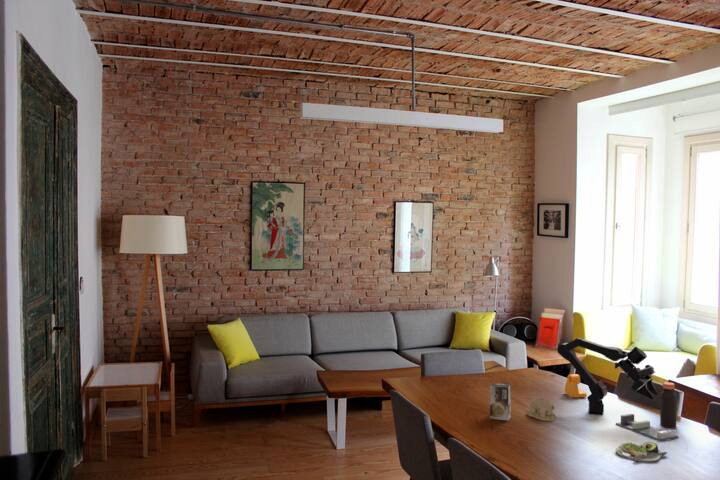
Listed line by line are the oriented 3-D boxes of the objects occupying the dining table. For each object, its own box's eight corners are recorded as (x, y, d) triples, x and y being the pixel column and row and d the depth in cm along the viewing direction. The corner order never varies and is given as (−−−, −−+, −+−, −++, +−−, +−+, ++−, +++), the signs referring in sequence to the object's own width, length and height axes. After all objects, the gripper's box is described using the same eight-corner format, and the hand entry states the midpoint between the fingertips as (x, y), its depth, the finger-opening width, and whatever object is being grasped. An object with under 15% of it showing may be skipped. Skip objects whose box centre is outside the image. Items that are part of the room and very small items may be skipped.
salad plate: (656, 469, 233) (656, 457, 233) (608, 457, 244) (608, 446, 244) (669, 455, 248) (669, 444, 248) (623, 445, 259) (623, 434, 259)
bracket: (587, 398, 331) (587, 376, 330) (575, 398, 329) (575, 376, 329) (576, 393, 341) (576, 371, 341) (564, 393, 340) (564, 372, 339)
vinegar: (675, 424, 286) (675, 382, 286) (677, 428, 280) (678, 385, 279) (659, 422, 288) (659, 381, 288) (661, 427, 282) (661, 384, 282)
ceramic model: (559, 417, 296) (560, 397, 296) (550, 422, 288) (550, 401, 288) (532, 411, 306) (533, 391, 306) (522, 416, 297) (522, 396, 297)
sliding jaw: (619, 423, 285) (619, 415, 285) (633, 420, 289) (633, 413, 288) (635, 429, 276) (635, 421, 276) (649, 426, 280) (650, 419, 280)
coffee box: (511, 417, 295) (511, 384, 295) (508, 421, 289) (508, 387, 289) (492, 414, 299) (492, 382, 299) (489, 418, 293) (489, 385, 293)
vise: (615, 424, 285) (615, 417, 285) (632, 421, 290) (633, 415, 290) (660, 441, 263) (660, 433, 263) (678, 437, 267) (678, 430, 267)
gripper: (638, 363, 283) (664, 390, 276) (647, 356, 298) (672, 382, 291) (620, 377, 288) (645, 404, 281) (630, 370, 303) (654, 396, 296)
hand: (655, 396), depth 287 cm, fingers open, 9 cm apart
